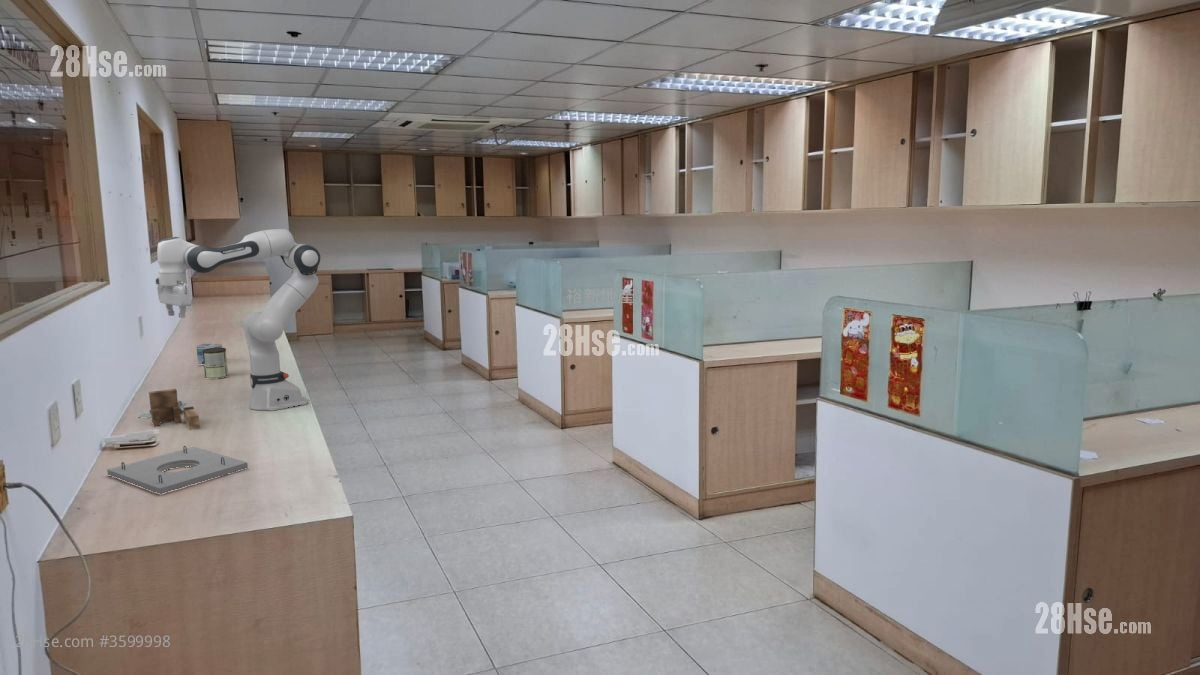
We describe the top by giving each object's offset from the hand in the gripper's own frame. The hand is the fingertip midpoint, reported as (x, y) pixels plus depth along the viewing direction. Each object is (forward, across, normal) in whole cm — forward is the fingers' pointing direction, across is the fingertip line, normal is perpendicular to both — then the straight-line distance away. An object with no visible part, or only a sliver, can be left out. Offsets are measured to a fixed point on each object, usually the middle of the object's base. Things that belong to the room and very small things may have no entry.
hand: (176, 316), depth 285 cm
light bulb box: (+41, +102, -56) cm, 124 cm away
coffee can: (+41, +68, -43) cm, 90 cm away
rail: (+40, -11, +3) cm, 42 cm away
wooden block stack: (+40, +1, +7) cm, 41 cm away
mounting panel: (+41, -62, +29) cm, 80 cm away
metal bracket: (+41, +14, +2) cm, 43 cm away
